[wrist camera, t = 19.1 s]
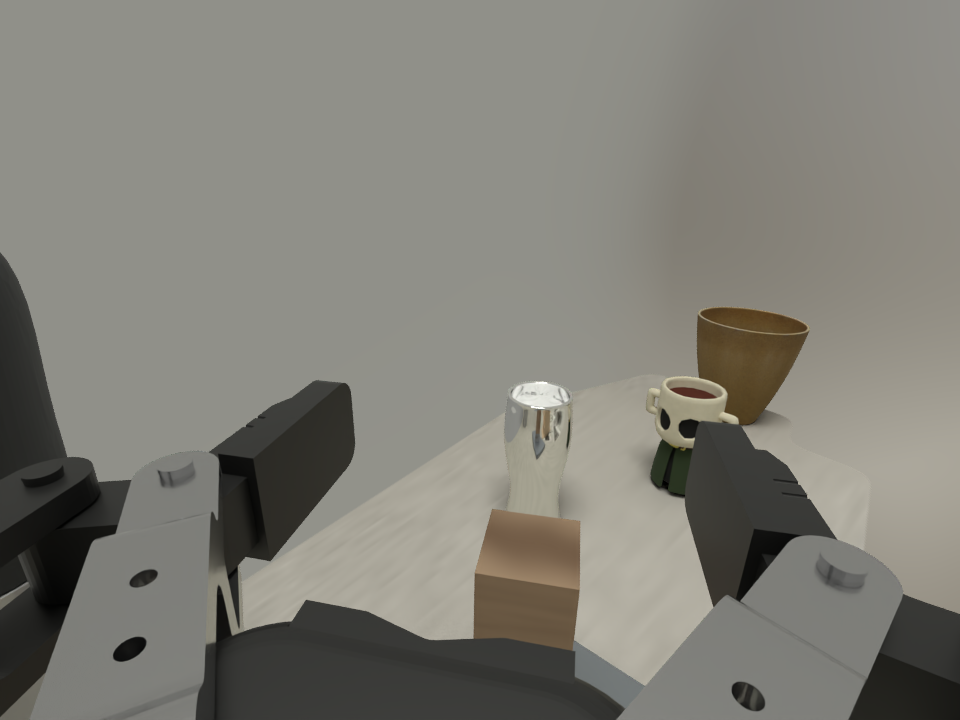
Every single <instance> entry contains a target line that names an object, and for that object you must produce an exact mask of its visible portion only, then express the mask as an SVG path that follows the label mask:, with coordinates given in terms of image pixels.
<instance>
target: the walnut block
mask: <svg viewBox="0 0 960 720" xmlns="http://www.w3.org/2000/svg"><path fill="white" fill-rule="evenodd" d="M579 590H580V521H575V520H568V519H561V518H553V517H546V516H539V515H532V514H524V513H517V512H510V511H502V510H495V509H492V512H491V515H490V519H489V523H488V526H487V530H486V534H485V537H484V541H483V545H482V548H481V552H480V556H479V559H478V563H477V567H476V571H475V591H474V639H483V638H508V639H514V640H519V641H524V642H529V643H535V644H540V645H545V646H550V647H556V648H561V649H566V650H571V651H573V643H574V634H575V625H576V617H577V608H578V599H579Z"/></svg>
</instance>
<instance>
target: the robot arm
mask: <svg viewBox="0 0 960 720" xmlns="http://www.w3.org/2000/svg"><path fill="white" fill-rule="evenodd" d="M354 448H355V436H354V423H353V411H352V400H351V391H350V388H349V386H348V385H347V384H346V383H338V382H328V381H319V380H316V381H314V382H312V383H311V384H309V385H308V386H307V387H305V388H304V389H303V390H301V391H300V392H299V393H297V394H296V395H295V396H293V397H292V398H290V399H287V400H285V401H282V402H280V403H277V404H275V405H273V406H271V407H270V408H268V409H267V410H266V411H264V412H263V413H262V414H260V415H259V416H258V419H257V418H255V419H253V420H252V421H251V422H249V423H248V424H247V425H246V427H243V428H241V429H240V430H239V431H237V432H236V433H235V434H233V435H232V436H231V437H229V438H227V439H226V440H225V441H223V442H222V443H221V444H219V445H218V446H217V447H215V448H214V449H212V450H211V451H210V452H203V451H188V452H180V453H176V454H171V455H168V456H165V457H162V458H159V459H157V460H155V461H152V462H151V463H149V464H147V465H145V466H144V467H142V468H141V469H140V470H139V471H137V472H136V473H135V475H134V476H133V478H132V480H123V481H108V482H98V480H97V477H96V473H95V470H94V467H93V464H92V462H91V461H89V460H88V459H85V458H79V457H67V455H66V451H65V447H64V444H63V440H62V437H61V434H60V430H59V427H58V424H57V421H56V417H55V413H54V409H53V405H52V402H51V398H50V394H49V390H48V386H47V382H46V377H45V373H44V369H43V364H42V359H41V355H40V350H39V346H38V342H37V337H36V333H35V329H34V326H33V322H32V318H31V315H30V311H29V308H28V304H27V301H26V299H25V296H24V294H23V291H22V289H21V286H20V284H19V281H18V279H17V277H16V275H15V274H14V272H13V270H12V268H11V267H10V265H9V263H8V262H7V260H6V259H5V258H4V256H3V255H2V254H1V253H0V720H960V614H958V613H955V612H952V611H949V610H946V609H943V608H940V607H937V606H934V605H931V604H928V603H925V602H922V601H920V600H917V599H914V598H911V597H909V596H906V595H904V594H903V590H902V586H901V584H900V582H899V580H898V579H897V577H896V576H895V575H894V574H893V573H892V571H891V570H889V568H887V567H886V566H885V565H884V564H883V563H882V562H880V561H879V560H878V559H876V558H875V557H873V556H872V555H870V554H868V553H866V552H865V551H863V550H861V549H859V548H857V547H855V546H852V545H850V544H848V543H845V542H842V541H839V540H837V539H836V537H835V536H834V534H833V533H832V531H831V530H830V528H829V527H828V525H827V524H826V522H825V521H824V519H823V518H822V516H821V515H820V513H819V512H818V511H817V509H816V508H815V506H814V505H813V503H812V502H811V500H810V499H807V494H806V493H805V491H804V490H803V488H802V487H801V485H798V481H797V480H796V478H795V477H794V475H793V474H792V472H791V471H790V469H789V468H788V466H787V465H786V464H784V463H783V462H781V461H780V460H779V459H777V458H776V457H775V456H773V455H772V454H771V453H769V452H768V451H767V450H758V449H755V448H754V447H753V445H752V443H751V442H750V440H749V438H748V437H747V435H746V433H745V432H744V430H743V428H742V427H741V425H739V424H730V423H720V422H711V421H700V423H699V424H698V427H697V430H696V435H695V440H694V445H693V450H692V456H691V461H690V466H689V471H688V476H687V481H686V488H685V507H686V513H687V517H688V520H689V524H690V527H691V531H692V534H693V538H694V541H695V545H696V548H697V552H698V555H699V558H700V562H701V565H702V569H703V572H704V576H705V579H706V583H707V586H708V590H709V593H710V597H711V600H712V604H713V607H714V608H713V609H712V610H711V611H710V612H709V614H708V615H707V616H706V617H705V618H704V619H703V620H702V622H701V623H700V624H699V625H698V626H697V627H696V629H695V630H694V631H693V632H692V633H691V634H690V635H689V637H688V638H687V639H686V640H685V641H684V642H683V643H682V645H681V646H680V647H679V648H678V649H677V650H676V652H675V653H674V654H673V655H672V656H671V657H670V658H669V660H668V661H667V662H666V663H665V664H664V665H663V666H662V668H661V669H660V670H659V671H658V672H657V673H656V675H655V676H654V677H653V678H652V679H651V680H650V681H649V683H648V684H647V685H646V686H645V687H644V688H643V689H642V691H641V692H640V693H639V694H638V695H637V696H636V698H635V699H634V700H633V701H632V702H631V703H630V704H629V706H628V707H627V708H626V709H625V708H624V707H623V706H622V705H620V704H619V703H618V702H616V701H615V700H614V699H612V698H611V697H610V696H608V695H607V694H606V693H604V692H602V691H601V690H599V689H597V688H596V687H594V686H592V685H591V684H589V683H587V682H585V681H583V680H581V679H579V678H577V677H575V651H571V650H566V649H561V648H556V647H550V646H545V645H540V644H535V643H529V642H524V641H519V640H514V639H508V638H483V639H458V640H428V639H424V638H422V637H420V636H417V635H415V634H413V633H411V632H409V631H407V630H405V629H403V628H401V627H399V626H396V625H394V624H392V623H390V622H388V621H386V620H384V619H382V618H380V617H378V616H376V615H373V614H371V613H369V612H367V611H362V610H356V609H351V608H346V607H341V606H336V605H330V604H325V603H320V602H315V601H309V600H306V601H305V602H304V604H303V605H302V607H301V608H300V610H299V611H298V613H297V614H296V616H295V617H294V619H293V620H292V622H282V623H275V624H268V625H264V626H260V627H256V628H252V629H249V630H247V631H244V625H243V602H242V578H241V572H240V567H239V564H240V562H241V561H242V560H243V559H244V558H245V557H250V558H256V559H261V560H267V561H271V560H272V559H273V557H274V556H275V555H276V554H277V552H278V551H279V550H280V549H281V548H282V546H283V545H284V544H285V543H286V542H287V540H288V539H289V538H290V537H291V535H292V534H293V533H294V532H295V531H296V529H297V528H298V527H299V526H300V525H301V523H302V522H303V521H304V520H305V518H306V517H307V516H308V515H309V514H310V512H311V511H312V510H313V509H314V507H315V506H316V505H317V504H318V503H319V501H320V500H321V499H322V497H324V495H325V494H326V493H327V492H328V490H329V489H330V488H331V487H332V485H333V484H334V483H335V482H336V481H337V479H338V478H339V477H340V476H341V475H342V473H343V472H344V471H345V470H346V469H347V467H348V466H349V464H350V462H351V460H352V457H353V454H354Z"/></svg>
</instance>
